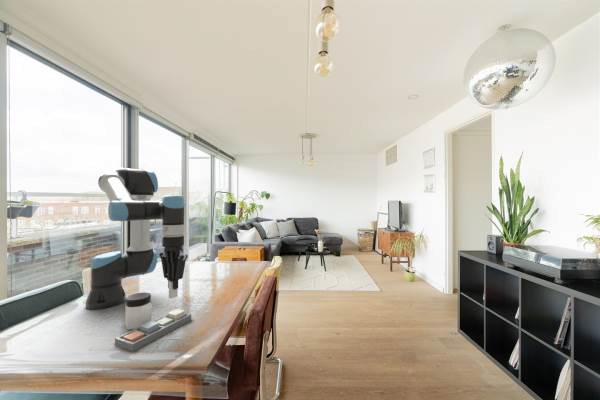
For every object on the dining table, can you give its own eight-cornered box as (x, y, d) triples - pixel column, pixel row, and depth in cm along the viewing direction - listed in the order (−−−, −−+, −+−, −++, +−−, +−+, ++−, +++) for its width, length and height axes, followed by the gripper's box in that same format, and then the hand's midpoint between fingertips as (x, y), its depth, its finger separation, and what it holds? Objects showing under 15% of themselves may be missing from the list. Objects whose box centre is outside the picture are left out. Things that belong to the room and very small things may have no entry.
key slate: (139, 331, 88) (139, 325, 88) (151, 326, 91) (151, 320, 91) (147, 334, 86) (147, 328, 86) (159, 328, 90) (159, 322, 90)
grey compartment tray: (112, 348, 83) (112, 337, 83) (173, 319, 104) (173, 310, 104) (134, 356, 78) (134, 345, 78) (193, 324, 99) (193, 314, 99)
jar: (120, 334, 92) (120, 301, 92) (129, 324, 100) (129, 293, 100) (147, 331, 94) (147, 299, 94) (154, 321, 102) (155, 291, 102)
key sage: (154, 327, 93) (154, 322, 93) (164, 322, 96) (164, 317, 96) (162, 330, 91) (162, 324, 91) (172, 324, 95) (172, 319, 95)
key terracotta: (123, 343, 82) (123, 336, 82) (135, 336, 86) (135, 330, 86) (131, 345, 81) (131, 339, 81) (144, 339, 85) (144, 333, 85)
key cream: (167, 318, 98) (167, 313, 98) (176, 314, 101) (177, 308, 101) (175, 320, 96) (175, 315, 96) (184, 315, 100) (184, 310, 100)
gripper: (152, 235, 97) (152, 297, 97) (176, 237, 92) (176, 303, 91) (170, 233, 104) (170, 291, 104) (193, 235, 98) (193, 296, 98)
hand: (173, 297), depth 97 cm, fingers closed
